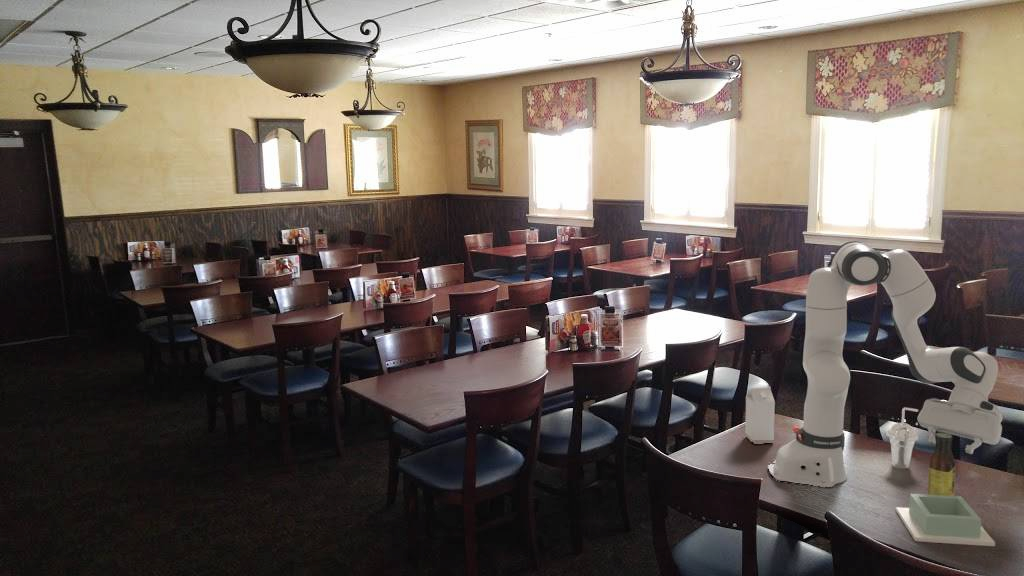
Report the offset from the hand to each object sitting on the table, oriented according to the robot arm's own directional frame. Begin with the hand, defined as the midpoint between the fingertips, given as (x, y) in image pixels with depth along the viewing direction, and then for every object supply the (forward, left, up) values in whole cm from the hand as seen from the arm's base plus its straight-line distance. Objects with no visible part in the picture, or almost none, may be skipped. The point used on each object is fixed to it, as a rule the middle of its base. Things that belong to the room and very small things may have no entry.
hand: (949, 447), depth 200 cm
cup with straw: (-5, +21, -15) cm, 27 cm away
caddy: (-6, -17, -15) cm, 24 cm away
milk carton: (-45, +37, -15) cm, 61 cm away
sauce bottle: (-2, -3, -15) cm, 16 cm away
